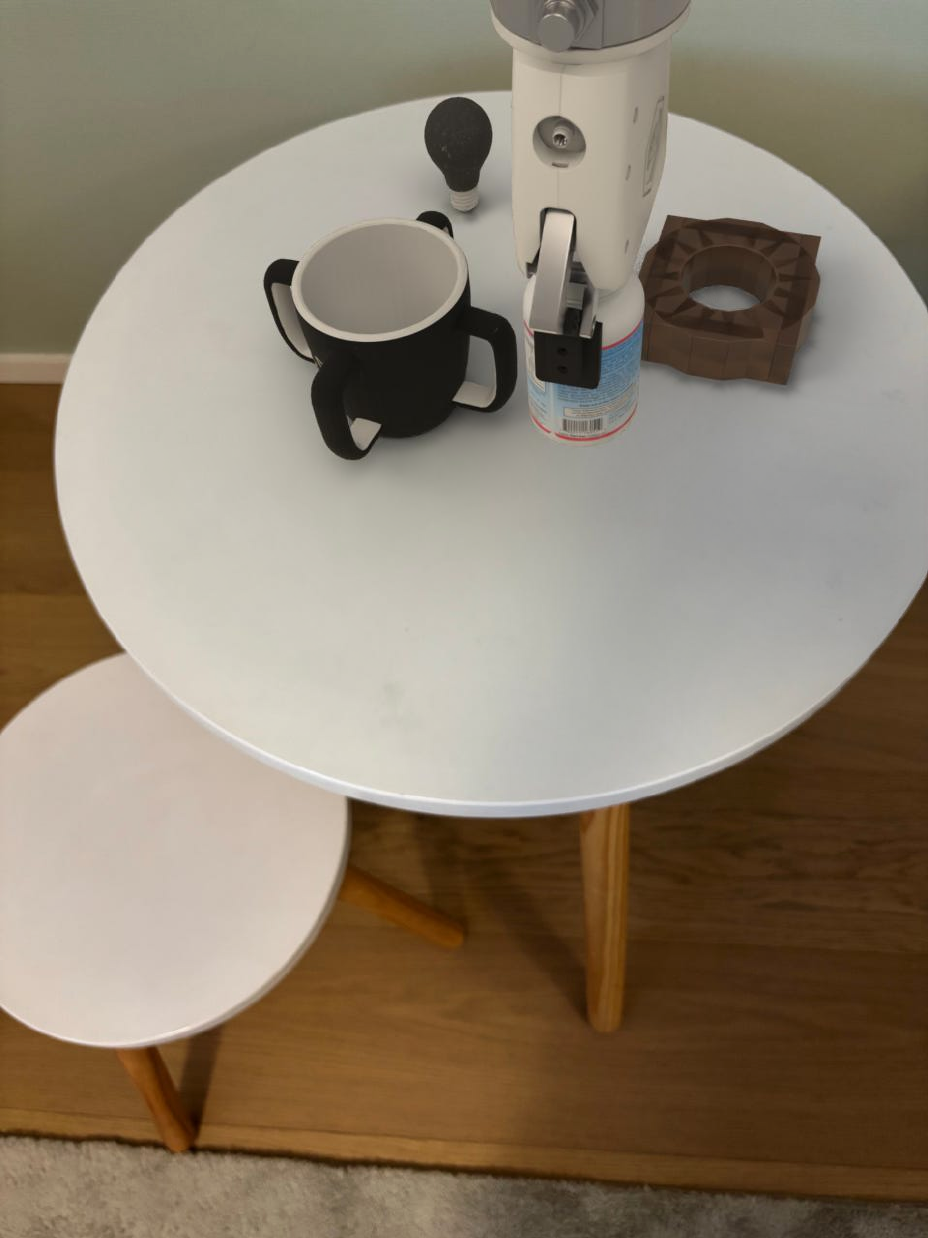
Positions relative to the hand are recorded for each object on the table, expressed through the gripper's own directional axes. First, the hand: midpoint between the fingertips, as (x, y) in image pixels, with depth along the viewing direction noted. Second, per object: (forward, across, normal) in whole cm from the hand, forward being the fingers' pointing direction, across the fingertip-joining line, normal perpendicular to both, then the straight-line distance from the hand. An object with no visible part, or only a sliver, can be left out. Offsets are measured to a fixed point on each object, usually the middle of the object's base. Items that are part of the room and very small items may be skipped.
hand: (584, 329), depth 53 cm
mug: (+21, +12, +17) cm, 30 cm away
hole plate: (+21, +25, -5) cm, 33 cm away
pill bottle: (+6, 0, 0) cm, 6 cm away
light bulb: (+21, +34, +18) cm, 44 cm away
